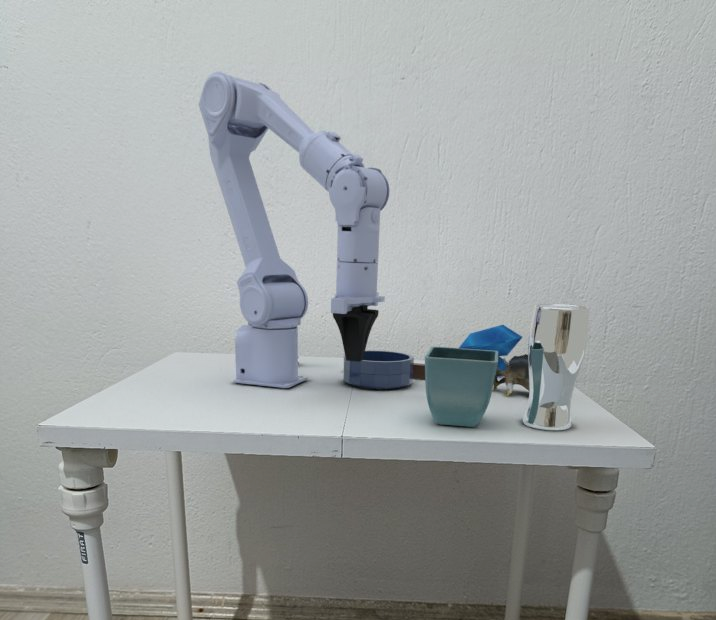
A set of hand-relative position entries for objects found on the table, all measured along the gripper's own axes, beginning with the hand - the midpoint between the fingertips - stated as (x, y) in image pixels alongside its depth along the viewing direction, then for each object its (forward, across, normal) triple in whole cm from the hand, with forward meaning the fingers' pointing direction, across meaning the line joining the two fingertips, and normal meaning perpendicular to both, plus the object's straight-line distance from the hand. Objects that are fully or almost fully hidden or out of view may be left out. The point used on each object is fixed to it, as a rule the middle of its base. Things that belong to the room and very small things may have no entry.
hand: (354, 360), depth 96 cm
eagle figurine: (+6, +14, -22) cm, 26 cm away
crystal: (+6, +28, -15) cm, 33 cm away
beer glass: (+6, -4, -28) cm, 29 cm away
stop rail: (+6, +19, 0) cm, 20 cm away
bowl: (+6, +11, 0) cm, 13 cm away
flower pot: (+6, -8, -17) cm, 19 cm away
